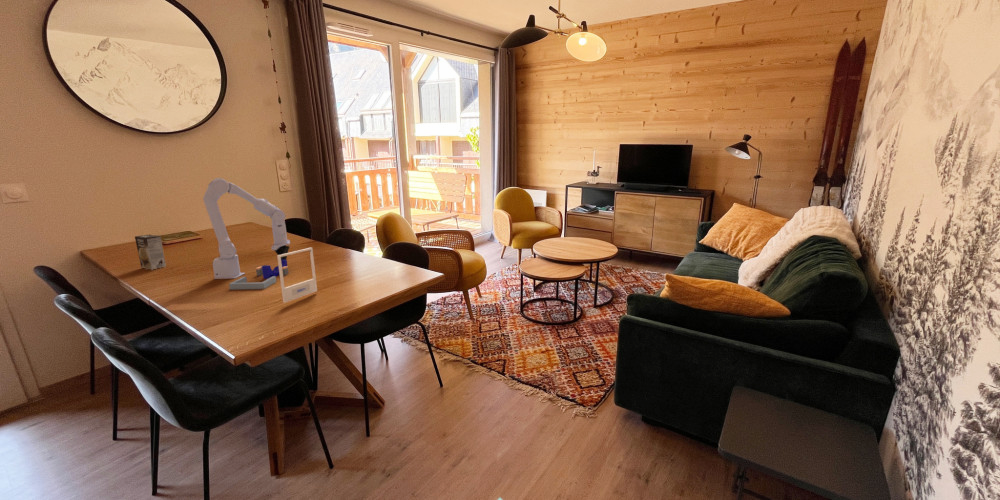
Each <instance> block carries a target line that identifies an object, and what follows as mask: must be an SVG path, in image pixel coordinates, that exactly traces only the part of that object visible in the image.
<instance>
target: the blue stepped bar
mask: <svg viewBox="0 0 1000 500" xmlns="http://www.w3.org/2000/svg"><path fill="white" fill-rule="evenodd" d="M281 263H282V267H284V266H288V260H287V259H286V260H281ZM261 267H262V271H263V275H262V277H263V280H264V279H265V280H267V279H269V278H271V277H272V276H276V277H279V276H280V274H279V266H278V265H277V266H274V268H273V269H272V266H271V265H266V264H265V265H261Z"/></svg>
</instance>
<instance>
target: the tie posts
mask: <svg viewBox="0 0 1000 500" xmlns="http://www.w3.org/2000/svg"><path fill="white" fill-rule="evenodd" d="M255 271H256V272H255V273H256V276H257V277H260V276H263V271H262V266H258V267H255ZM282 271H283V276H287V275H288V274H290V273H289V266H288V265H287V266H284V267H282Z"/></svg>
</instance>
